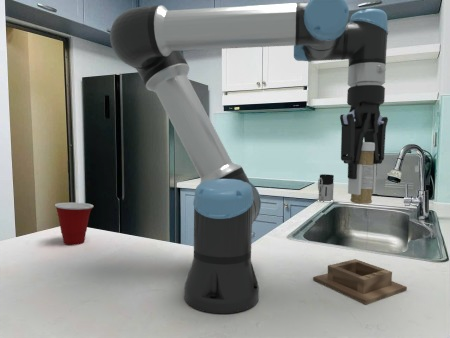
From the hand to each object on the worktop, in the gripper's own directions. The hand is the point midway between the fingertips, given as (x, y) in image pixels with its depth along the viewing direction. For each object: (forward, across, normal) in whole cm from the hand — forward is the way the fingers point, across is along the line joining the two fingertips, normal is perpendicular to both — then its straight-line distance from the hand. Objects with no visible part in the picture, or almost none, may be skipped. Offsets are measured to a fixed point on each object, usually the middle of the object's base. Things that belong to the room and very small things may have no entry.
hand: (361, 193), depth 77 cm
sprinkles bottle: (+2, 0, 0) cm, 2 cm away
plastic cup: (+20, -50, +64) cm, 84 cm away
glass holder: (+21, +82, +84) cm, 120 cm away
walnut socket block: (+21, 0, 0) cm, 21 cm away
